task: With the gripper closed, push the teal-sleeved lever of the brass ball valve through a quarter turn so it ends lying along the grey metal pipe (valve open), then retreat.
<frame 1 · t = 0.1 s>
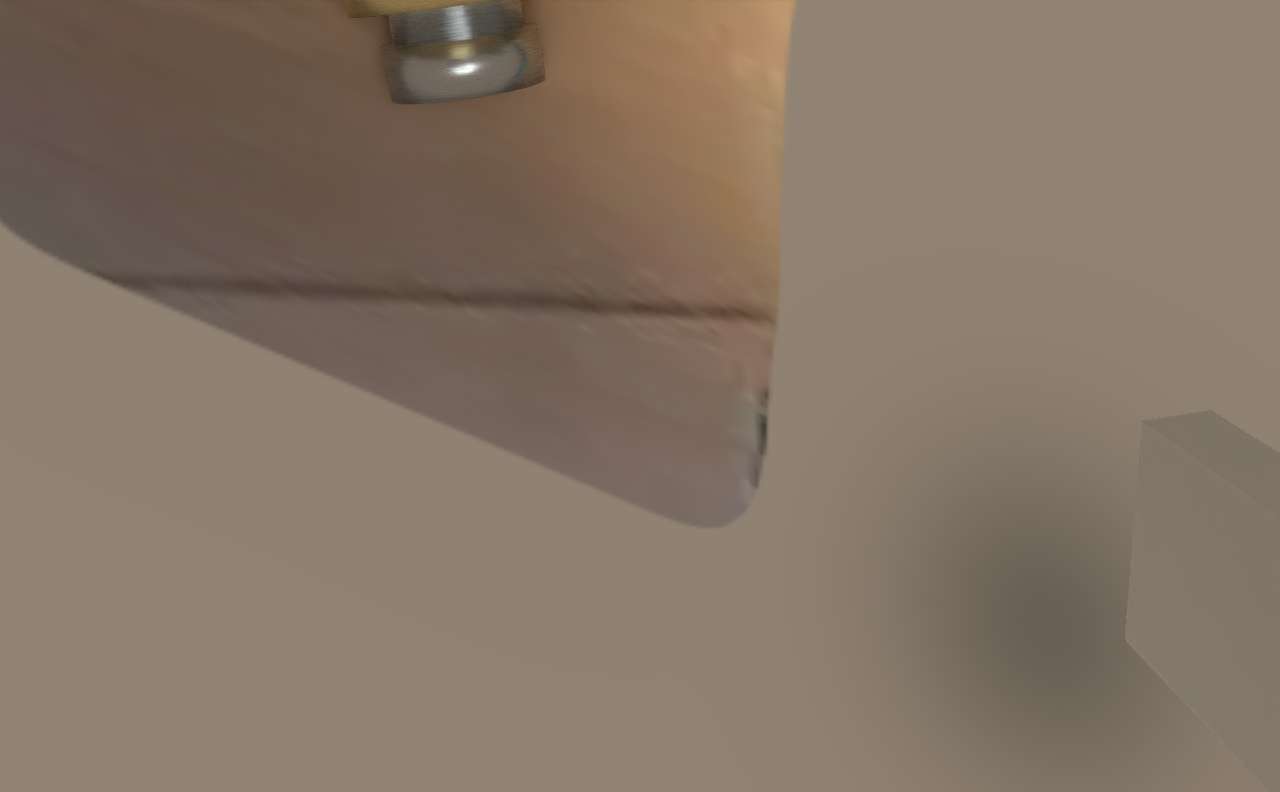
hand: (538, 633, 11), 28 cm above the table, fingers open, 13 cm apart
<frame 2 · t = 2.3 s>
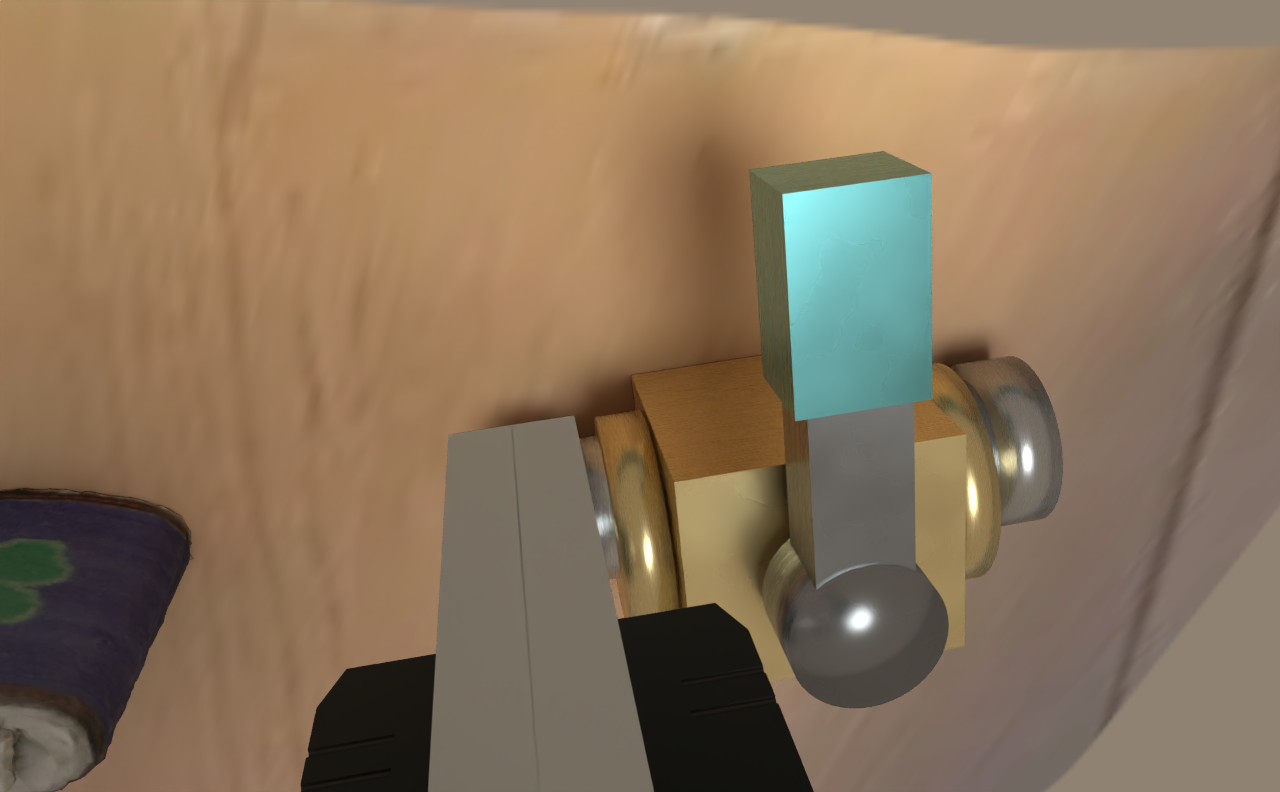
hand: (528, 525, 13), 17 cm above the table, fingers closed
flask: (24, 532, 31), on the table
lever: (846, 448, 23), point 9 cm above the table, hinge at 90.0°
pipe valve: (756, 449, 33), on the table
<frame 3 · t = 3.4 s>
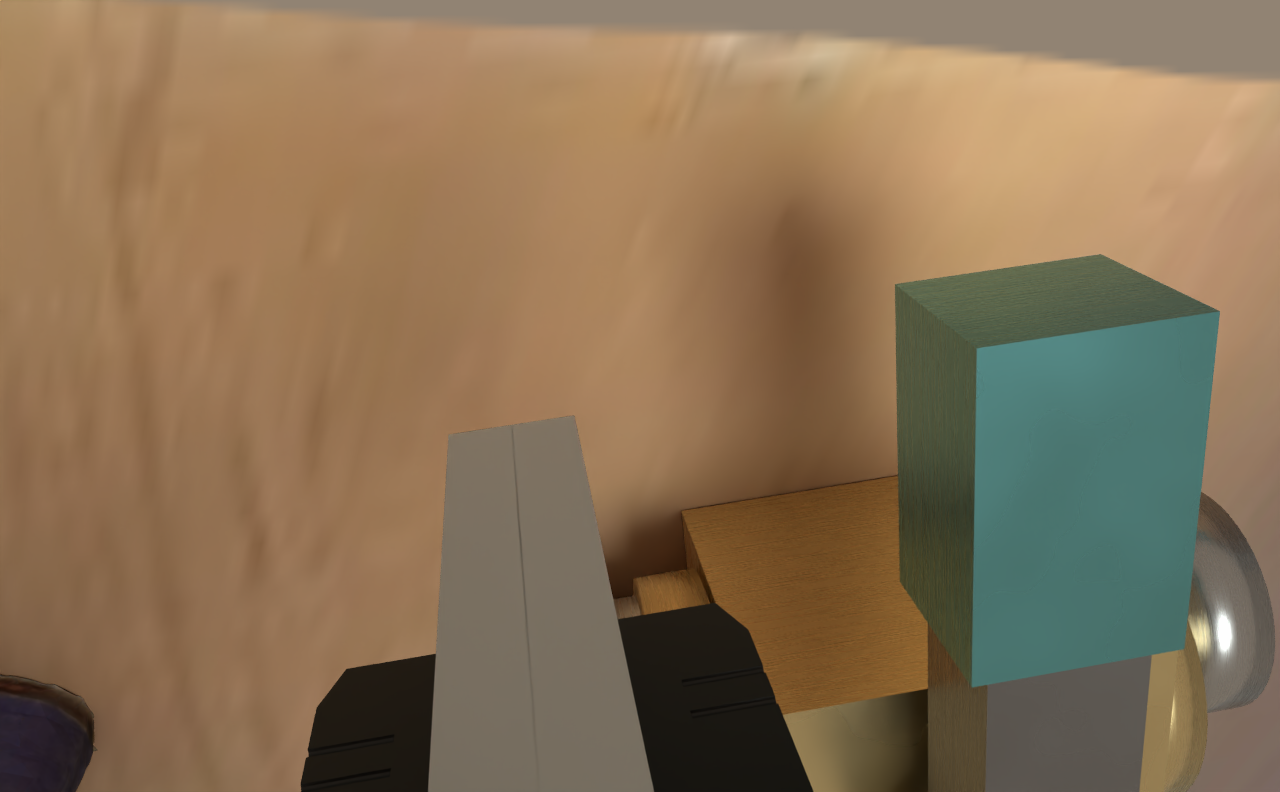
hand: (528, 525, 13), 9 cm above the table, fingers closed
lever: (1028, 696, 15), point 9 cm above the table, hinge at 90.0°
pipe valve: (843, 601, 25), on the table
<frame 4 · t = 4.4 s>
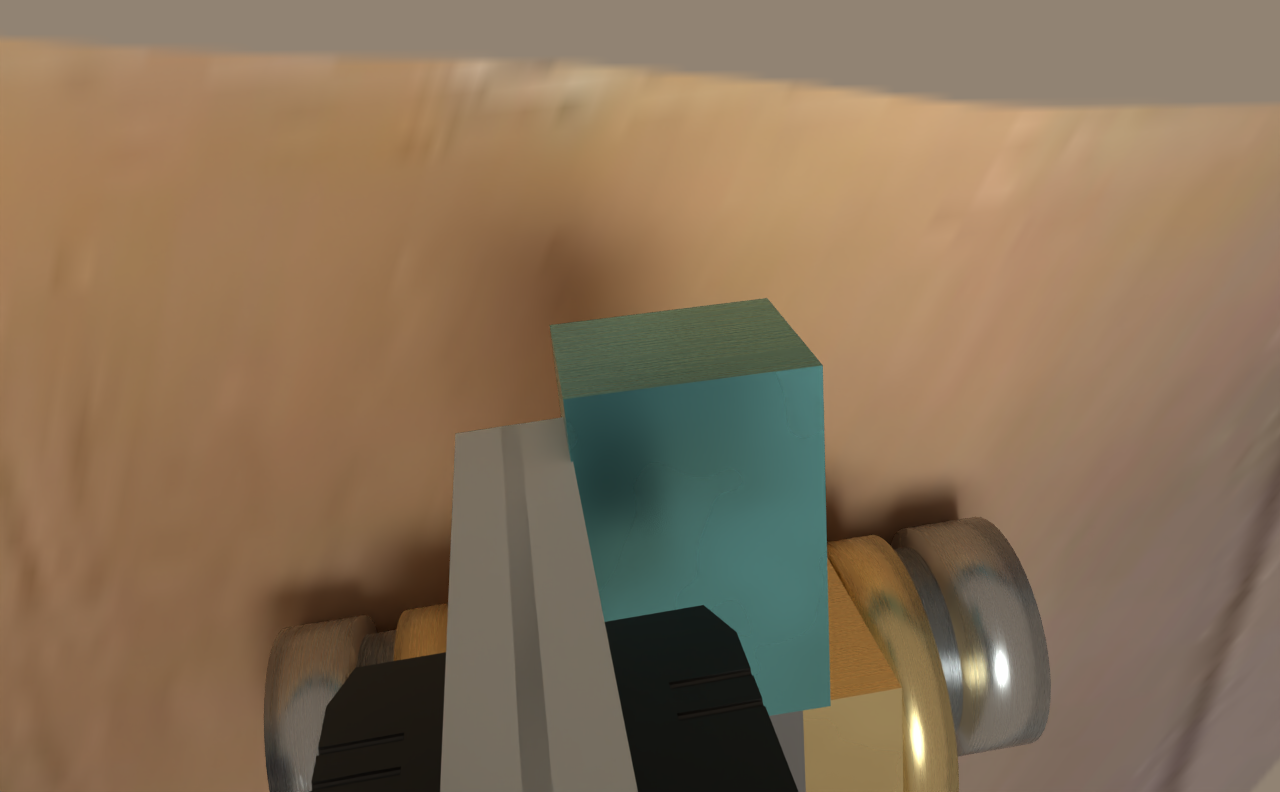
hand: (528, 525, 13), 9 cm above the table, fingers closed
lever: (706, 747, 15), point 9 cm above the table, hinge at 89.0°, touching gripper
pipe valve: (644, 631, 25), on the table
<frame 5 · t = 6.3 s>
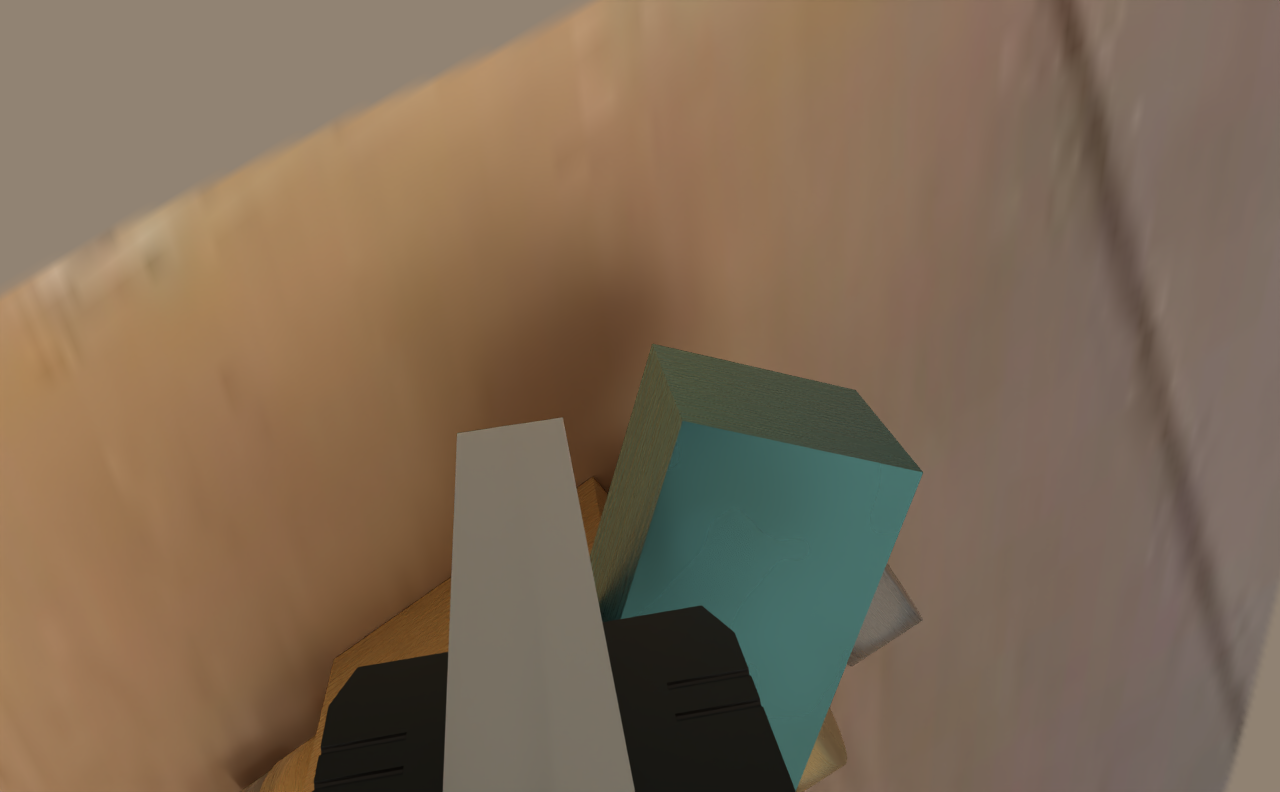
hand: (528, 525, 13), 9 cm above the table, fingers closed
pipe valve: (546, 660, 24), on the table
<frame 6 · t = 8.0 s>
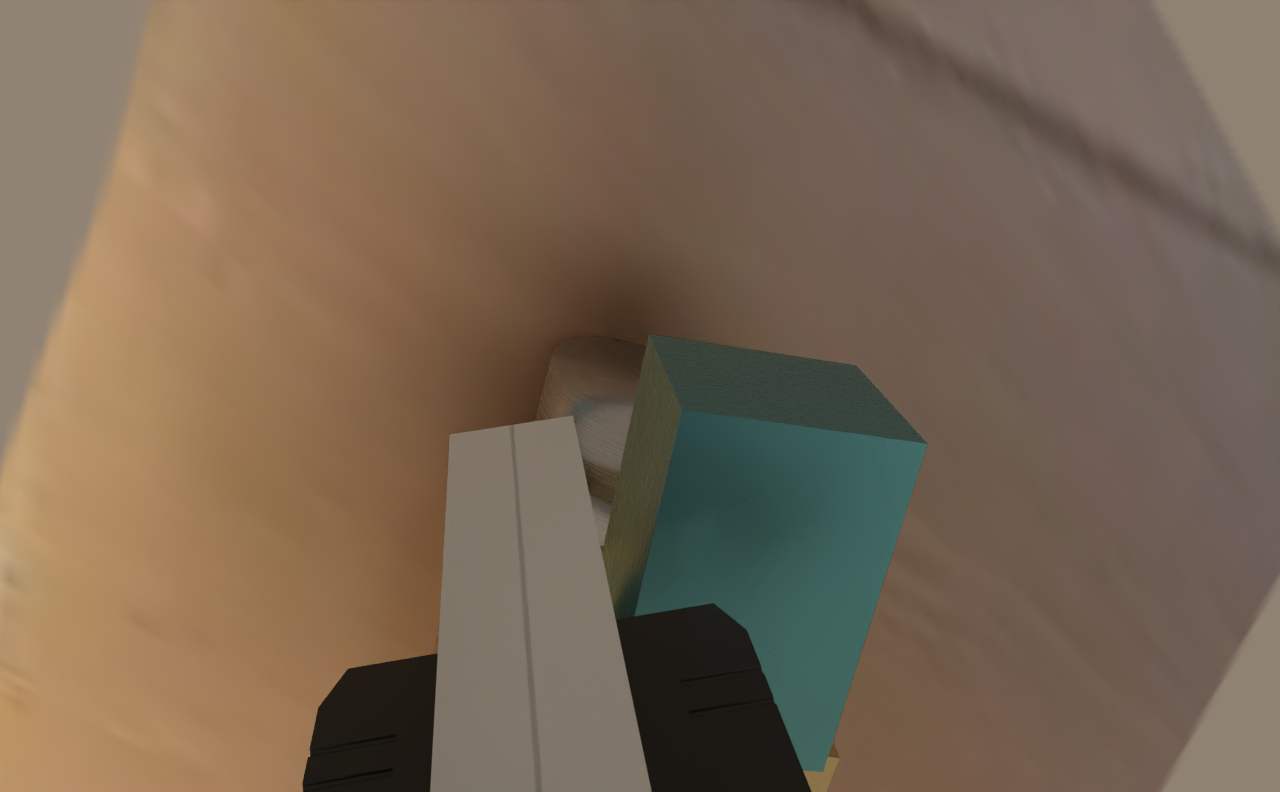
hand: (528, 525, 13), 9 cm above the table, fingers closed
lever: (674, 784, 15), point 9 cm above the table, hinge at 4.0°
pipe valve: (572, 655, 24), on the table
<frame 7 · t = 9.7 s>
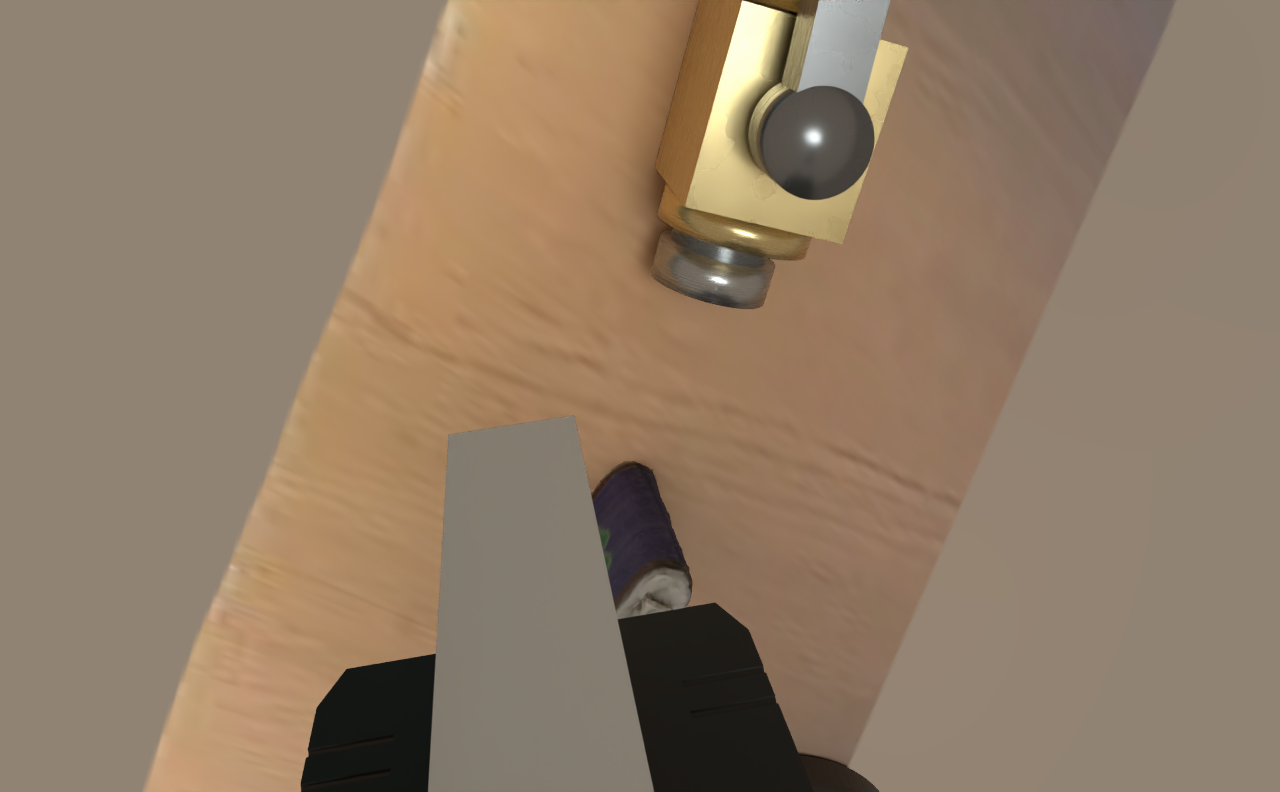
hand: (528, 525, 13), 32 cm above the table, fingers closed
flask: (597, 540, 51), on the table
lever: (841, 7, 34), point 9 cm above the table, hinge at 3.9°
pipe valve: (748, 99, 44), on the table
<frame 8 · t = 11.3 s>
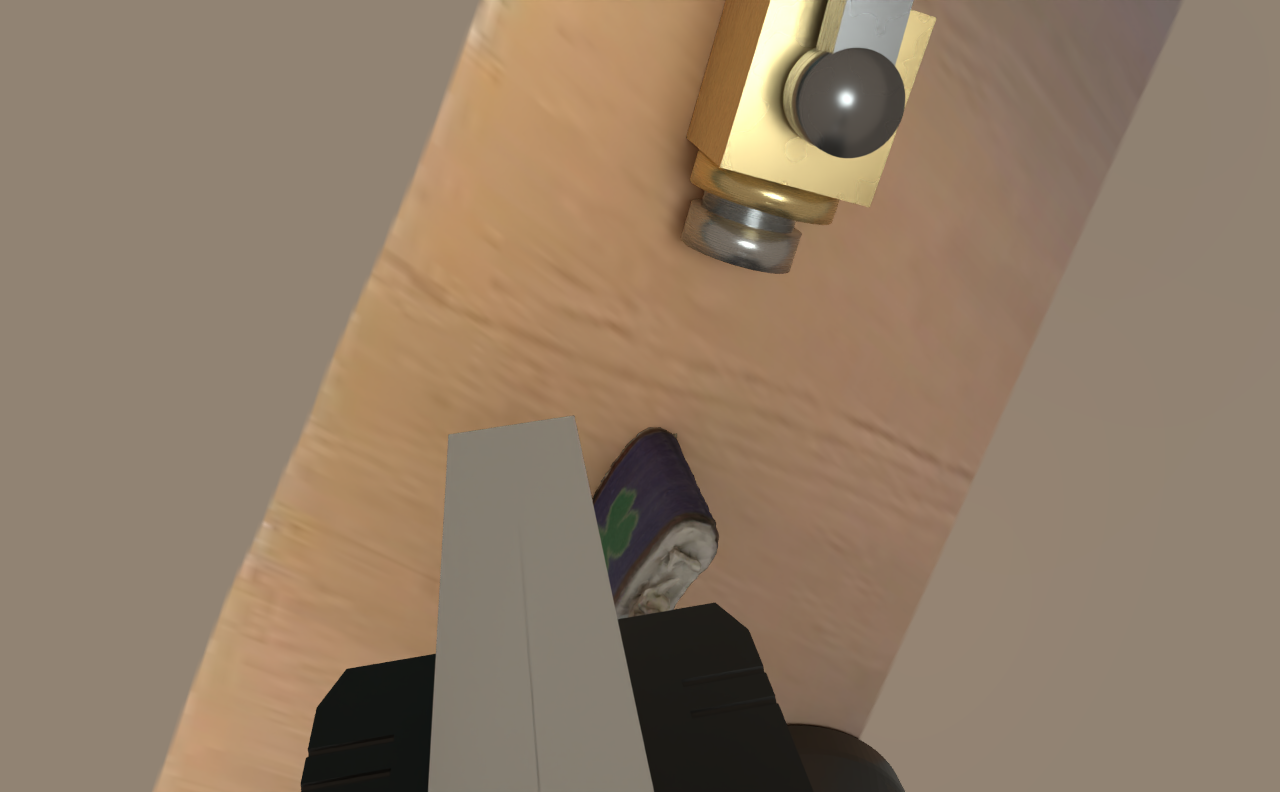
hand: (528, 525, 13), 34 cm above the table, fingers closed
flask: (620, 505, 53), on the table
pipe valve: (777, 73, 46), on the table
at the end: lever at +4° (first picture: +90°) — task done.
